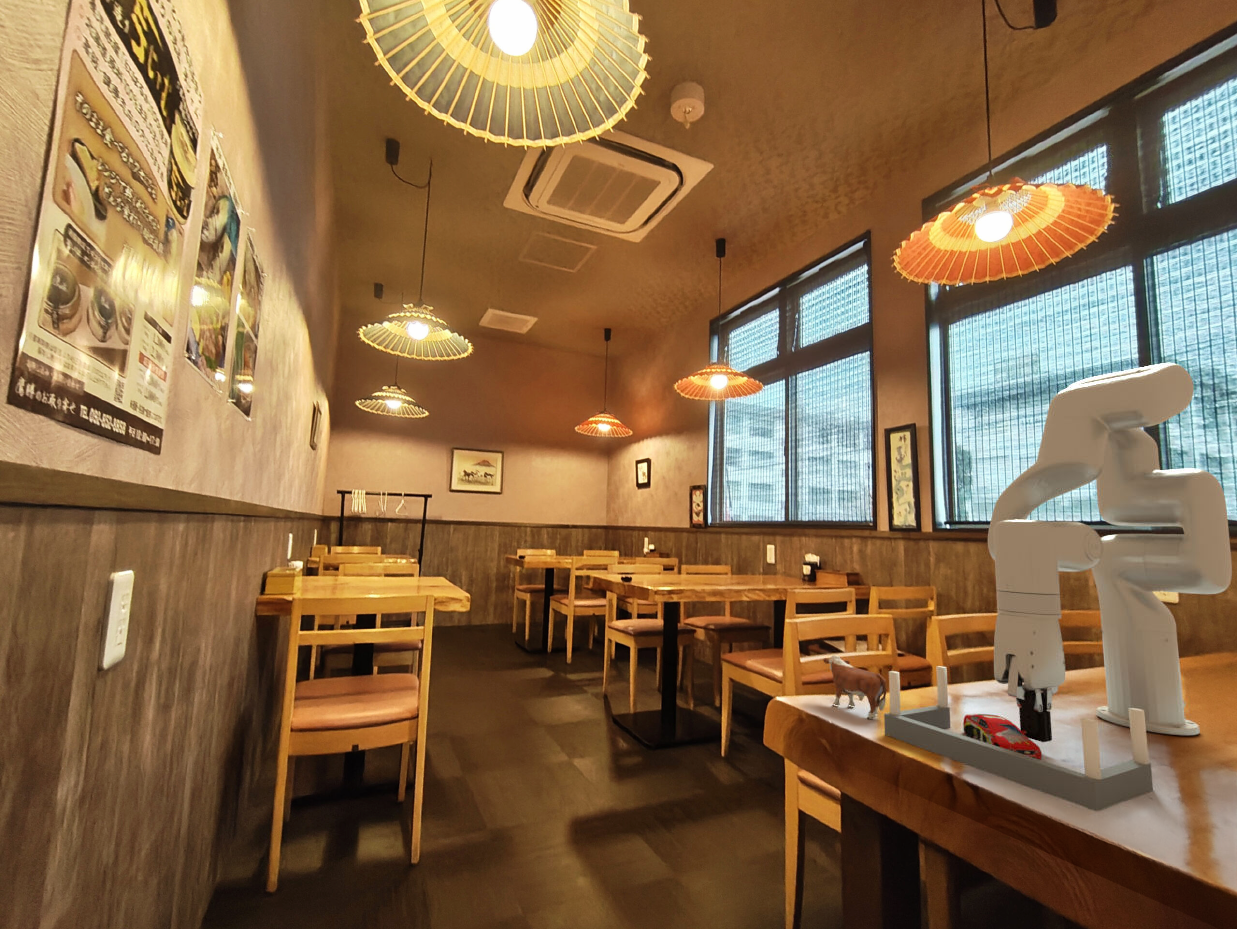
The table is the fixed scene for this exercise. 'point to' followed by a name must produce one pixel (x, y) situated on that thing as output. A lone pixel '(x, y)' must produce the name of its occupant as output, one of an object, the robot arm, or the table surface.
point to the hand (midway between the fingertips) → (1036, 738)
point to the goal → (1055, 780)
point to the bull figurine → (857, 684)
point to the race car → (1000, 734)
